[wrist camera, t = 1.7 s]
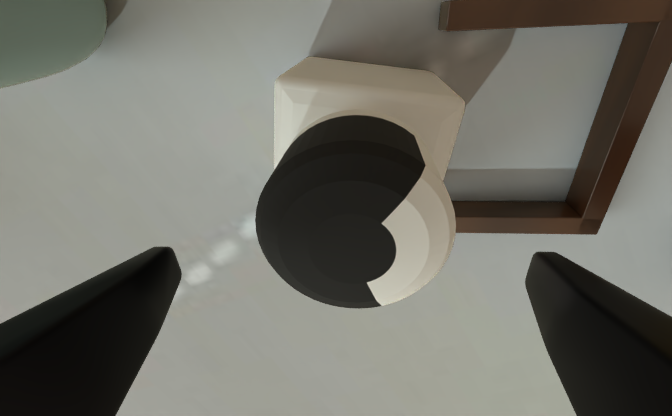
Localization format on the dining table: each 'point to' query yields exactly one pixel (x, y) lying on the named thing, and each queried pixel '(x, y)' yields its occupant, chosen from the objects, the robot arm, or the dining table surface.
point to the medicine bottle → (359, 181)
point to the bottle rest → (611, 118)
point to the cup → (47, 36)
